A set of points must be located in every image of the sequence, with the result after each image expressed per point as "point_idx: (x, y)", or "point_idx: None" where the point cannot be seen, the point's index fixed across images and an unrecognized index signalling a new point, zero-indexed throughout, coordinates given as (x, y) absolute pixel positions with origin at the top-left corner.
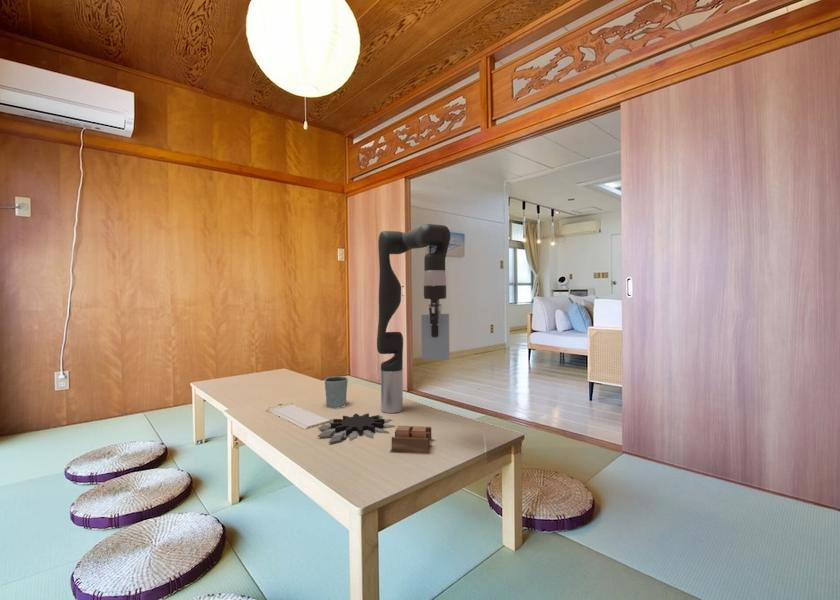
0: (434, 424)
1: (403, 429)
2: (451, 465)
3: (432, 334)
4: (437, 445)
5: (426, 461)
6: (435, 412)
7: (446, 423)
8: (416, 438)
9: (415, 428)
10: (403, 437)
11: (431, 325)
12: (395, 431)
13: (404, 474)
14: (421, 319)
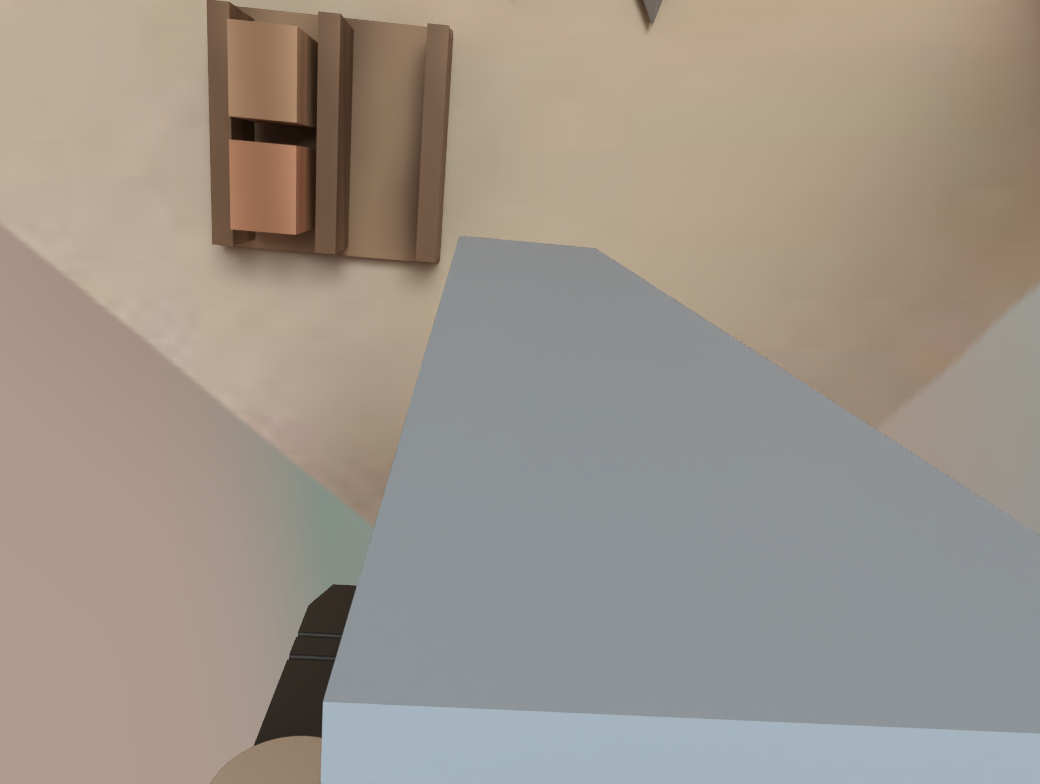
0: (761, 264)
1: (239, 77)
2: (171, 355)
3: (319, 599)
4: (418, 285)
5: (199, 229)
6: (1001, 268)
7: (774, 339)
8: (219, 173)
9: (269, 163)
10: (226, 84)
11: (286, 755)
12: (331, 15)
13: (27, 120)
14: (399, 470)
